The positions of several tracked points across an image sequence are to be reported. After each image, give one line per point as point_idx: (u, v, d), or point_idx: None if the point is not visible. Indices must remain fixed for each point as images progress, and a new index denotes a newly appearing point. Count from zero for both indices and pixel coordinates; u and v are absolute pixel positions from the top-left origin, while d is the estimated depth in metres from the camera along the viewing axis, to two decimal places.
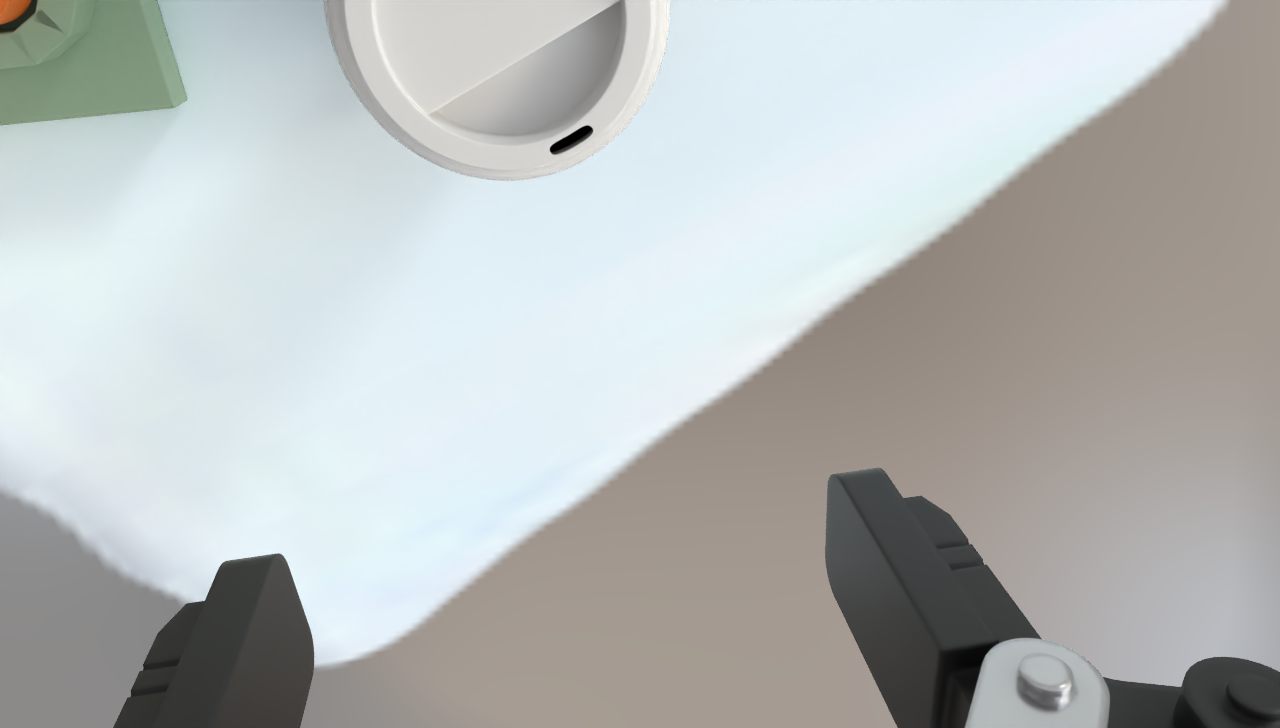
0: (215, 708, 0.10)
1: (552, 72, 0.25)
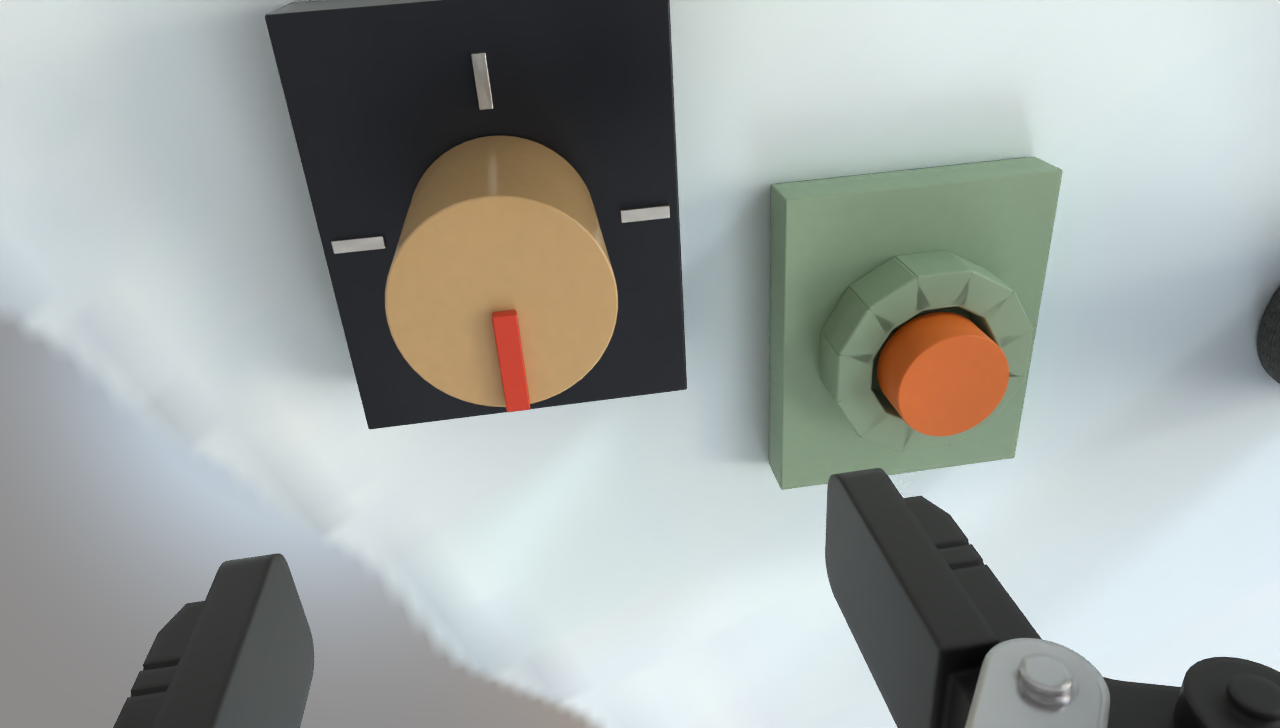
0: (216, 708, 0.10)
1: None
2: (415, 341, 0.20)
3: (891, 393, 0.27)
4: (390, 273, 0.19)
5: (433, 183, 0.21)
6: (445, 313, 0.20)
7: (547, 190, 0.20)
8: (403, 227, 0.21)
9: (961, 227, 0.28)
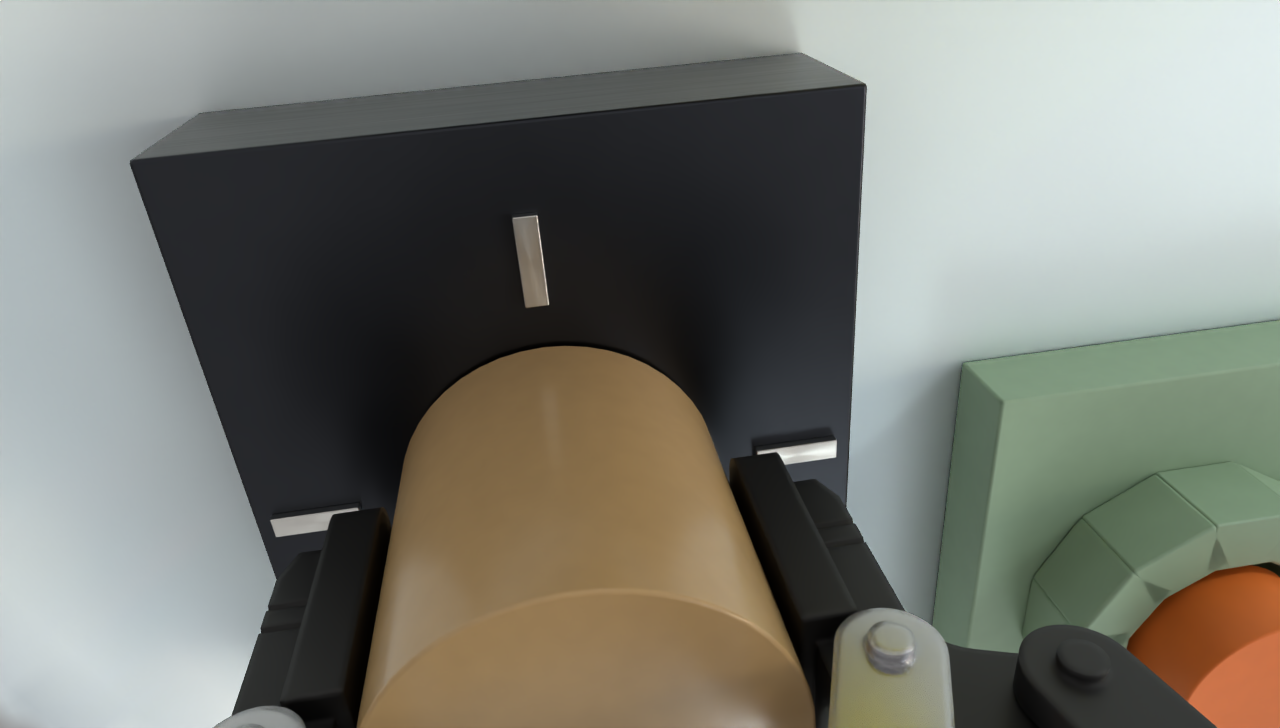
0: (350, 639, 0.10)
1: None
2: None
3: None
4: None
5: (446, 479, 0.11)
6: None
7: (676, 529, 0.10)
8: (390, 572, 0.11)
9: (1261, 429, 0.18)
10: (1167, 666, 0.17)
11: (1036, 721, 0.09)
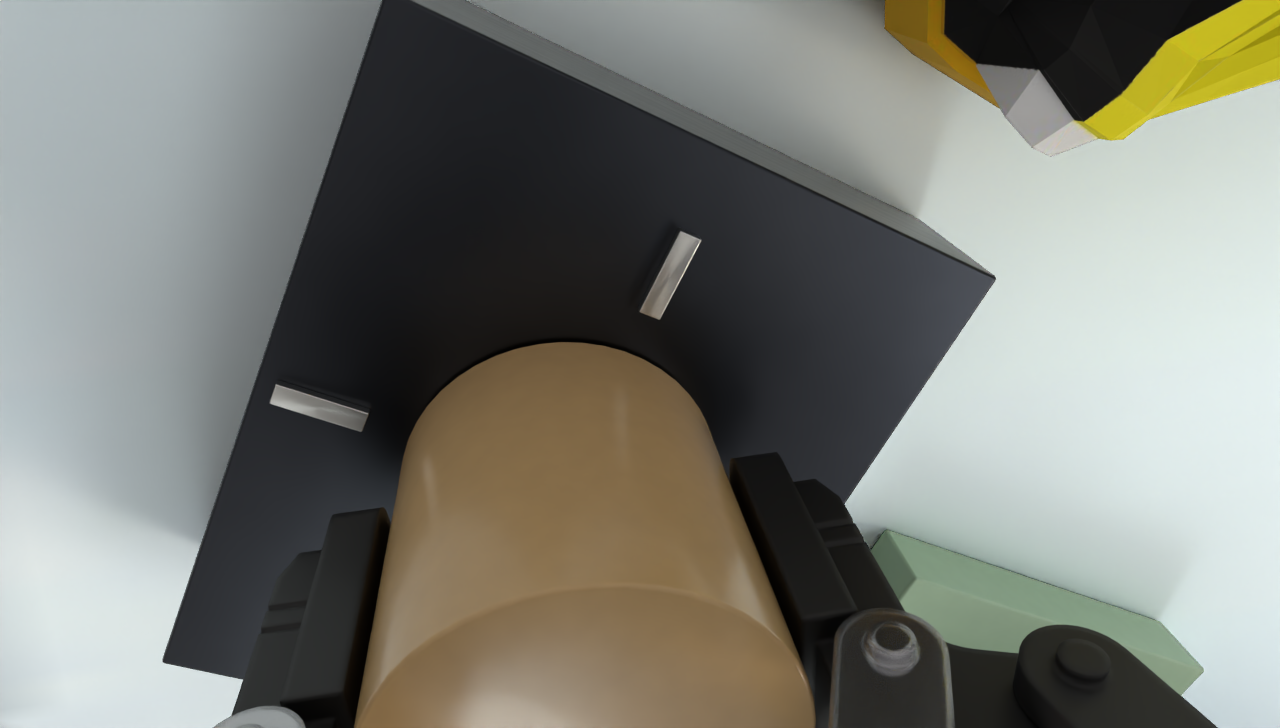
0: (350, 639, 0.10)
1: None
2: None
3: None
4: None
5: (441, 477, 0.11)
6: None
7: (671, 523, 0.10)
8: (387, 571, 0.11)
9: None
10: None
11: (1038, 720, 0.09)
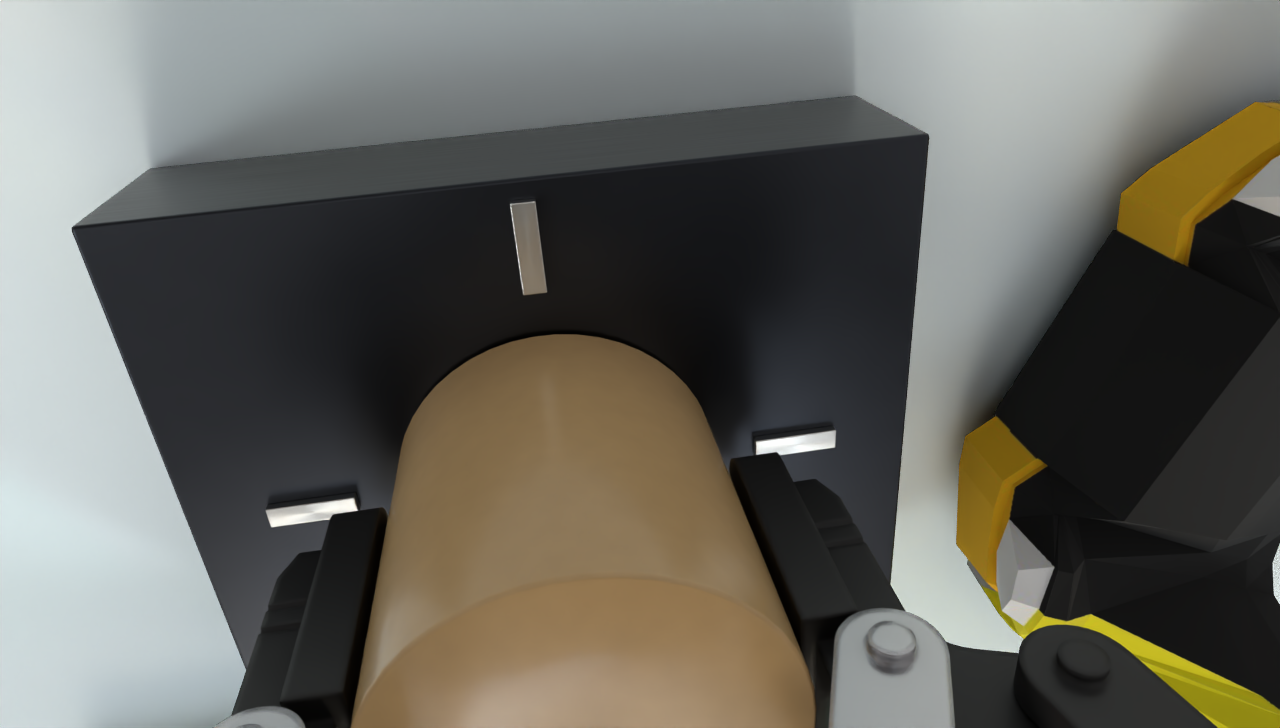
0: (349, 640, 0.10)
1: None
2: None
3: None
4: None
5: (436, 471, 0.11)
6: None
7: (667, 512, 0.10)
8: (383, 566, 0.11)
9: None
10: None
11: (1038, 720, 0.09)
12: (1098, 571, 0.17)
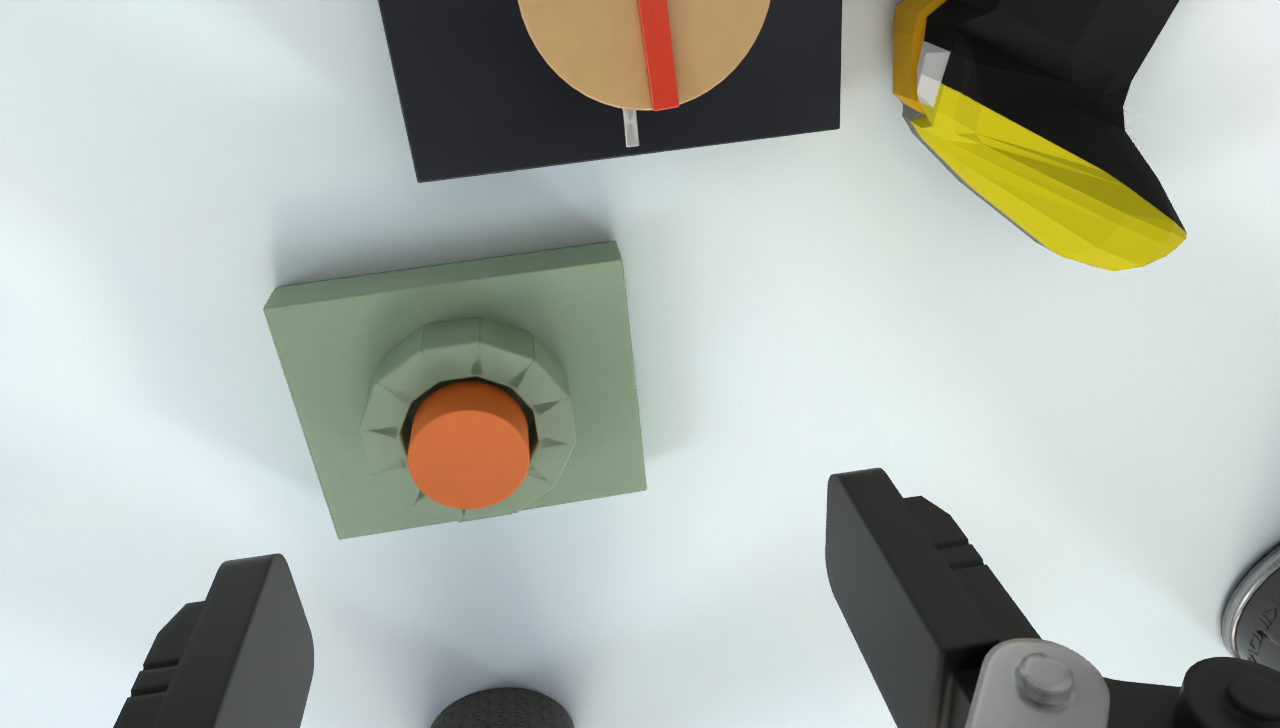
0: (215, 708, 0.10)
1: None
2: (549, 24, 0.17)
3: (451, 403, 0.26)
4: None
5: None
6: None
7: None
8: None
9: (594, 423, 0.30)
10: (473, 398, 0.26)
11: None
12: (987, 75, 0.25)
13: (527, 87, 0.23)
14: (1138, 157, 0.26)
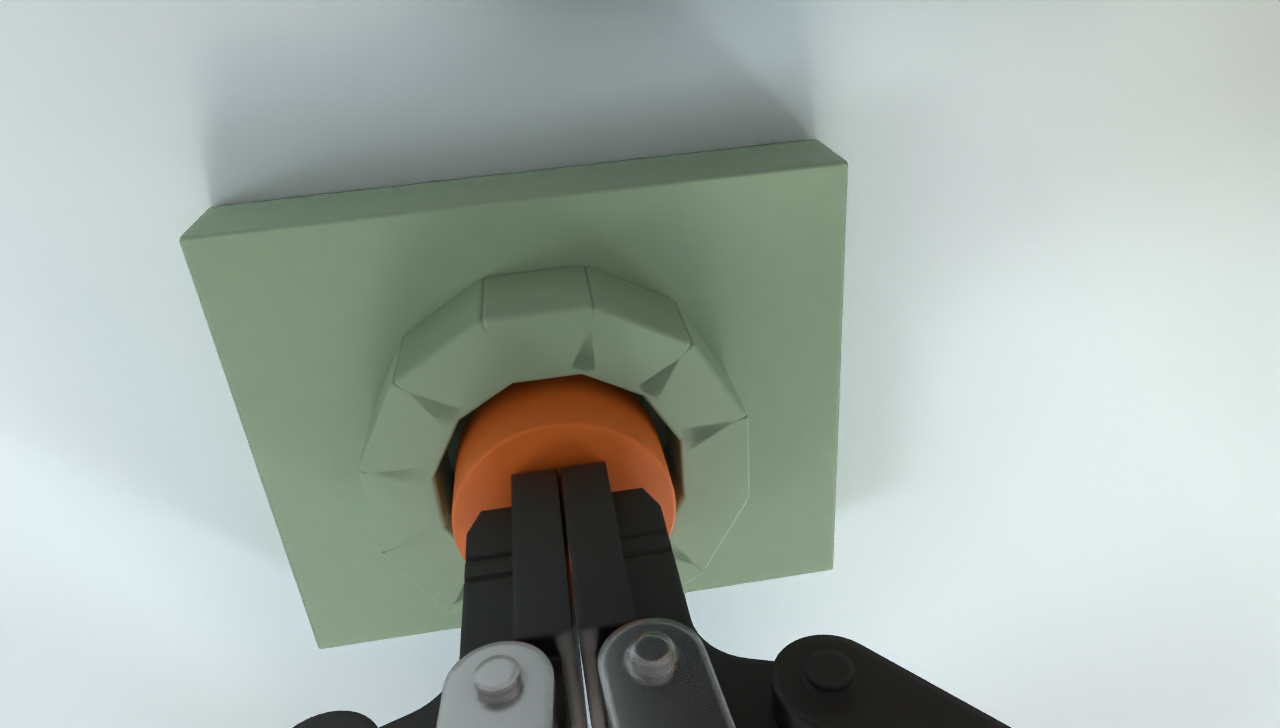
0: (564, 585, 0.11)
1: None
2: None
3: (536, 410, 0.14)
4: None
5: None
6: None
7: None
8: None
9: (762, 459, 0.17)
10: (578, 402, 0.14)
11: None
12: None
13: None
14: None
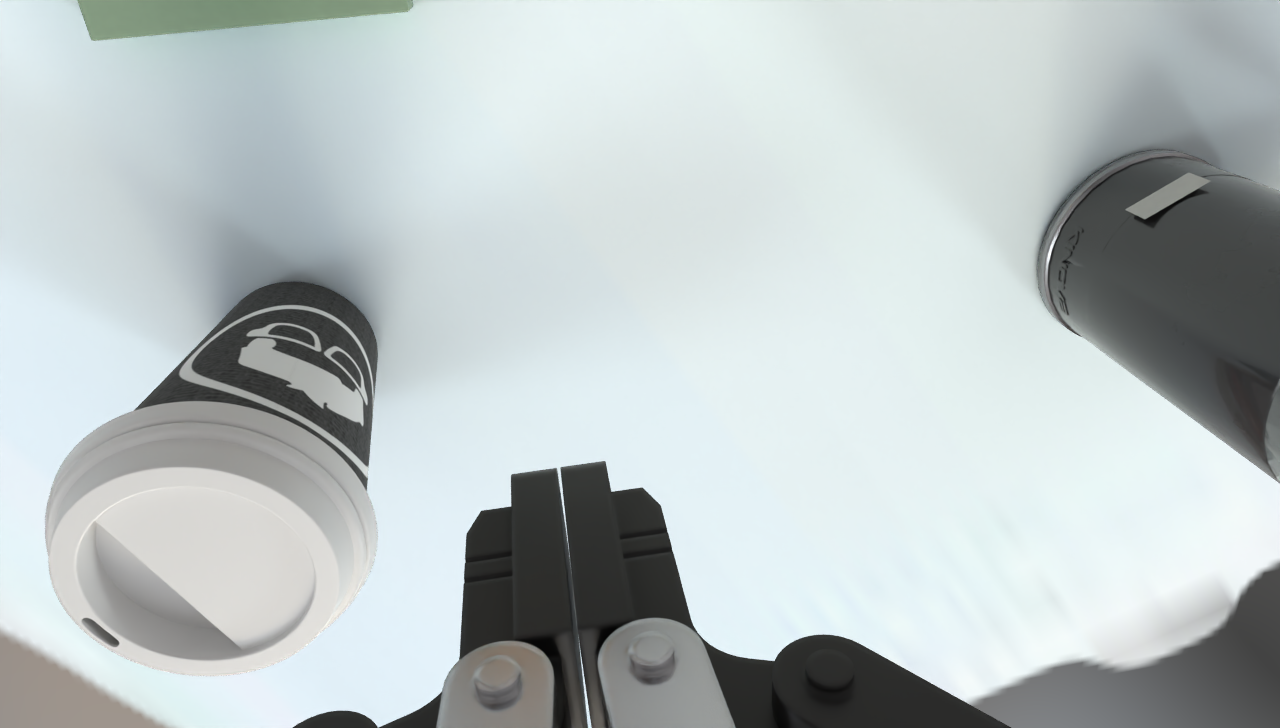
0: (564, 585, 0.11)
1: None
2: None
3: None
4: None
5: None
6: None
7: None
8: None
9: None
10: None
11: None
12: None
13: None
14: None
